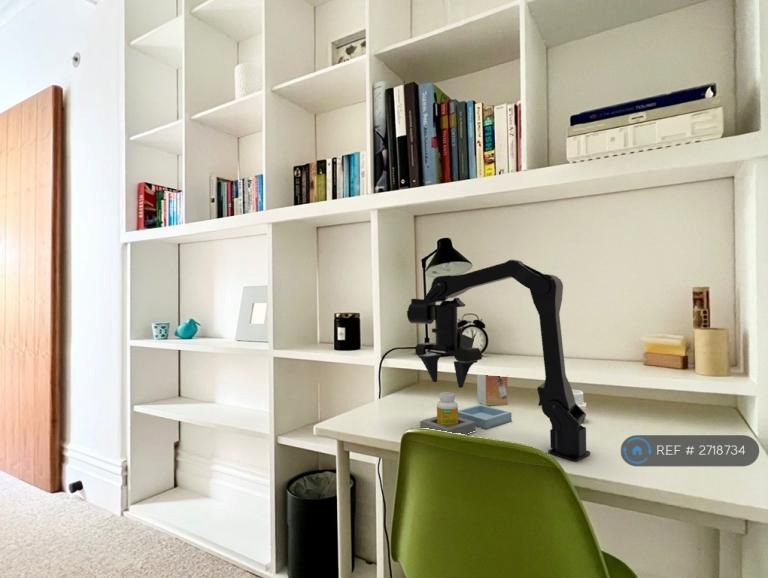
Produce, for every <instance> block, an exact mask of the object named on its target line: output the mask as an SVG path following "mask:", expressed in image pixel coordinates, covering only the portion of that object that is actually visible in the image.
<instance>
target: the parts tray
mask: <svg viewBox="0 0 768 578" xmlns="http://www.w3.org/2000/svg"><path fill="white" fill-rule="evenodd" d="M512 415H513V414H512V412H511V411H508V410H504V409H500V408H495V407H492V406H485V405H483V404H476V405H472V406H468V407H465V408H461V409H458V417H460V418H463V419H466V420H470V421H473V422H475V427H476V426H477V428H479V427H481V428H480V429H482V428H485V429H484V430H489V429H491V428H496V427H498V426H501V425H505V424H507V423H511V422H512V419H513V418H512ZM495 426H496V427H495ZM488 428H489V429H488Z"/></svg>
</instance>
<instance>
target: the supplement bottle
mask: <svg viewBox="0 0 768 578" xmlns="http://www.w3.org/2000/svg"><path fill="white" fill-rule="evenodd" d="M458 410H459V406H458V402H456V394H455V393H454V392H450V391H442V392H440V393H439V401H438V402H437V404H436V417H437V424H440V425H443V426H446V427H450V426H454V425H457V424H458Z"/></svg>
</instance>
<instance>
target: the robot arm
mask: <svg viewBox="0 0 768 578" xmlns="http://www.w3.org/2000/svg"><path fill="white" fill-rule="evenodd" d="M511 278H512V279H514V280H515V281H516V282H518V283H519V284H520V285H522V286H523V287H525V288H527V289H529V291H530V294H531V298H532V301H533V303H532V304H533V305H534V307H535V309H536V311H537V315H538V316H539V325H540V336H541V345H542V355H543V357H542V358H543V364H544V374H545V375H544V376H545V377H544V378H545V380H544V382H543V383H542V384H540V385H539V386H537V389H536V390H537V394H538V398H539V401H538V407H540V406H541V410H542V413H543V414H544V415H545V416H546V418H548V419H549V422H550V424H551V429H550V430H549V433H550V435H549V437H550V439H549V440H550V444H549V445H550V449H549V450H548V453H549V454H550V455H553V456H554V455H555V456H558V457H562V458H564V459H568V460H571V461H573V462H577V461H579V460H582V459H583V458H585V457H588V456H590V455H591V451H589V450H587V426H583V425H582V424H583V423H584V422H585V419H586V418H587V417H586V416H587V414H586V412H585V410H584V409H583V410H582V409H581V408H580V407H579V406H578V405H577V404H576V403H575V399H574V395H573V392H572V390H573V388H572V387H571V384H570V381H569V380H568V377H567V375H566V365H565V356H564V345H563V336H562V328H561V318H560V314H561V313H560V312H561V307H562V301H563V294H564V293H563V290H564V284H563V281H562V279H560V277H558V276H556V275H554V274H549V273H548V274H546V273H542V272H541V271H539V270H536V269H535V268H533V267H531V266H529V265H527V264H525V263H524V262H523V261H521V260H518V259H509V260H506V261H505V262H502V263H498V264H495V265H491V266H488V267H484V268H480V269H477V270H474V271H470V272H467V273H464V274H449V275H440V276H436V277H435V278H434V279H433V280H432V283H431V286H430V289H428V292H427V293H426V295H425V297H424V298H423V299H421V298H411V299H410V302H411V303H409V305H408V308H407V311H406V315H407V319H408V322H409V323H410V324H418V325H420V324H422V325H423V324H424V325H431V324H433V323H434V321H435V323H434V325H435V326H434V328H431V333H434V334H435V342H423V343H417V344H416V346H415V347H414V348H415V349H414V350H415V355H418V358H419V359H420V360H421V361H422V363H423V365H424V367H425V368H426V370H427V373H428V375H429V376H430V378H431V380H432V381H431V382H433V383H437V381H438V372H439V371H438V368H439V367H438V363H439V360H440V358H441V356H442V355H444V356H451V357H454V359H455V360H454V361H453V365H454V372H455V376H456V382H457V386H458V389H461V388H464V385H465V382H466V378H467V375H468V373H469V370H470V368H471V367H472V366H473V365H474V364H475V363H478V361H481V360H482V359H483V358H482V356H483V355H482V350H481V349H480V347H474V342H475V339H474V338H472V337H470V336H468V335H465V334H463V332H462V328H461V327H460V328H459V326H458V308H464V307H466V304H465V303H464V302H463V301H462V300H461V299H460V298H459V297H458V296H461V295H463V294H464V293H466V292H467V291H469V290H471V289H474V288H477V287H478V288H479V287H481V286H485V285H489V284H492V283H496V282H501V281H504V280H507V279H511ZM448 299H453V300H448ZM437 303H440V304H437Z"/></svg>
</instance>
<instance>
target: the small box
mask: <svg viewBox="0 0 768 578" xmlns="http://www.w3.org/2000/svg"><path fill="white" fill-rule="evenodd" d="M476 377H477V379H476V380H477V381H476V383H477V384H476V385H477V390H476V391H477V403H478V402H479V404H480V405H484V406H488V407H491V406H503V405H504V406H505V405H508V403H509V402H508V400H509V399H508V394H509V393H508V376H507V377H500V376H488V375H477V374H476Z"/></svg>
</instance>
